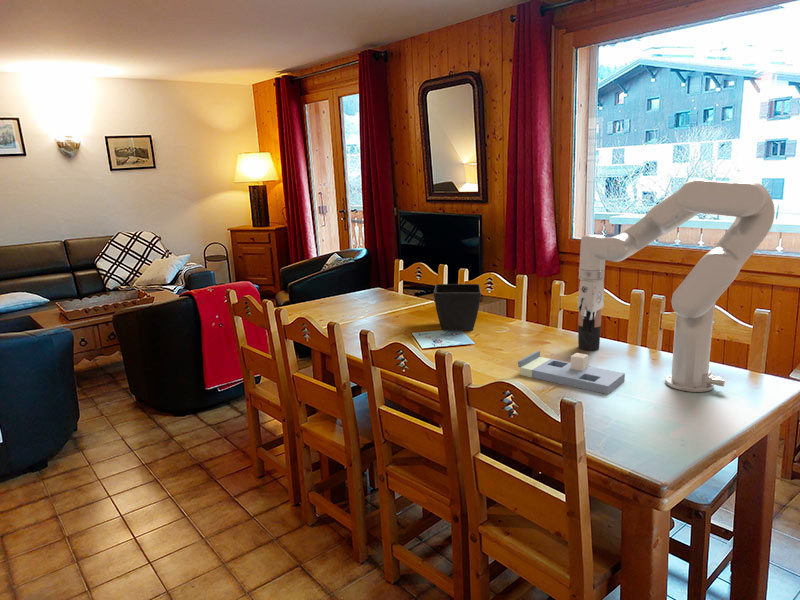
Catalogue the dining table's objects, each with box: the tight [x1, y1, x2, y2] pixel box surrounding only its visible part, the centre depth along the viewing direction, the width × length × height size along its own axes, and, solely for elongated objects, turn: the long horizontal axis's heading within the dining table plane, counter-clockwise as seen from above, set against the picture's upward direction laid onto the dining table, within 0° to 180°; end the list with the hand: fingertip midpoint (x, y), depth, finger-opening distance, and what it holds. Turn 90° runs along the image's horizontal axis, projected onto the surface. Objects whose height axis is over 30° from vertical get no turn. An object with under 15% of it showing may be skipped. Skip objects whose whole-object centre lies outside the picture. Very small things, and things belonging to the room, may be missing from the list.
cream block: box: [570, 352, 589, 371], centre depth 176 cm, size 4×4×4 cm
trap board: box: [517, 350, 626, 395], centre depth 175 cm, size 29×13×4 cm, turn 49°
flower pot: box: [433, 283, 482, 331], centre depth 237 cm, size 19×19×17 cm
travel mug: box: [577, 308, 602, 352], centre depth 202 cm, size 8×8×20 cm
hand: (588, 331), depth 180 cm, fingers closed
